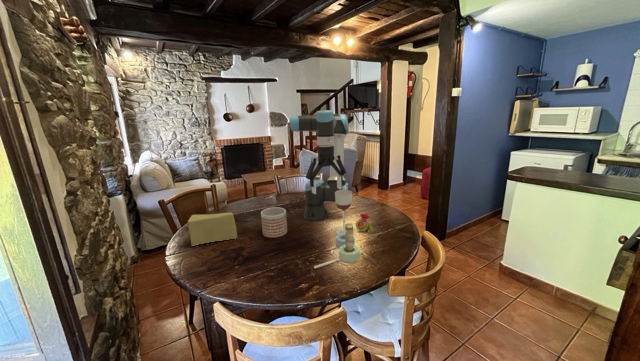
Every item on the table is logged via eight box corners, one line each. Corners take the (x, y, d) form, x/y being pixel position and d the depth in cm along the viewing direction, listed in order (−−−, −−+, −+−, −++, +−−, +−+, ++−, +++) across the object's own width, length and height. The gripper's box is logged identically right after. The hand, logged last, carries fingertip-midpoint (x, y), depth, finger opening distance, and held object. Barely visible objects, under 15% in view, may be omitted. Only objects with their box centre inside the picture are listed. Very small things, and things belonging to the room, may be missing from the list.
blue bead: (332, 244, 134) (332, 237, 133) (344, 238, 140) (344, 231, 139) (345, 250, 127) (345, 243, 126) (358, 244, 133) (358, 237, 132)
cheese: (238, 234, 148) (235, 209, 144) (236, 242, 139) (233, 216, 135) (196, 239, 144) (191, 213, 140) (191, 248, 135) (186, 220, 131)
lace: (313, 268, 114) (313, 266, 114) (339, 259, 120) (339, 257, 120) (314, 269, 113) (314, 267, 113) (340, 260, 119) (340, 258, 119)
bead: (335, 255, 124) (335, 247, 123) (351, 250, 128) (351, 242, 127) (346, 264, 116) (346, 256, 115) (363, 259, 120) (363, 251, 119)
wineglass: (354, 229, 150) (354, 190, 144) (350, 237, 141) (349, 195, 135) (338, 227, 153) (337, 189, 147) (333, 235, 144) (332, 194, 138)
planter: (292, 231, 150) (291, 210, 146) (272, 240, 140) (270, 218, 137) (277, 225, 159) (275, 205, 155) (257, 233, 149) (255, 212, 146)
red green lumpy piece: (361, 237, 144) (376, 230, 144) (353, 221, 141) (368, 213, 141) (358, 233, 150) (373, 225, 150) (350, 216, 147) (365, 209, 147)
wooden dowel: (343, 256, 122) (343, 224, 118) (350, 254, 124) (350, 222, 120) (348, 260, 119) (348, 227, 115) (354, 257, 121) (354, 225, 117)
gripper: (304, 149, 111) (306, 197, 116) (353, 144, 122) (353, 188, 127) (296, 147, 117) (299, 193, 123) (344, 142, 129) (344, 185, 134)
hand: (326, 190), depth 125 cm, fingers open, 13 cm apart
